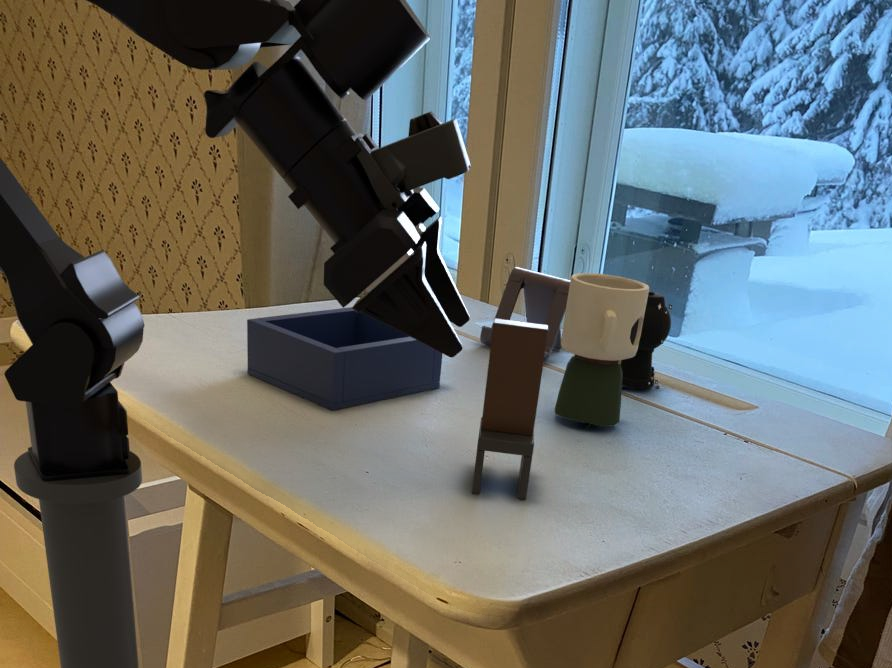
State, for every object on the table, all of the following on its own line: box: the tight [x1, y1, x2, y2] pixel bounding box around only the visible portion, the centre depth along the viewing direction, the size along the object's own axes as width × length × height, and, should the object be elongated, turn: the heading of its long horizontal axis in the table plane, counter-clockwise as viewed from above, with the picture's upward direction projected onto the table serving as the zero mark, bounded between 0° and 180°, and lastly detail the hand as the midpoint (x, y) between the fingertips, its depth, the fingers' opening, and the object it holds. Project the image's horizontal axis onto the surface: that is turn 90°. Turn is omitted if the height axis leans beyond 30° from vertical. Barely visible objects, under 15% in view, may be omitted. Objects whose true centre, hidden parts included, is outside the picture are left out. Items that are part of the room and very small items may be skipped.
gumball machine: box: [620, 290, 673, 390], centre depth 103 cm, size 7×6×10 cm
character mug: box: [554, 272, 650, 428], centre depth 89 cm, size 11×7×13 cm, turn 179°
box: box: [246, 306, 444, 411], centre depth 94 cm, size 14×12×5 cm
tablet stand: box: [479, 266, 571, 363], centre depth 112 cm, size 9×8×8 cm
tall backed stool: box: [471, 318, 548, 500], centre depth 73 cm, size 4×5×12 cm
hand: (461, 337), depth 70 cm, fingers open, 9 cm apart
